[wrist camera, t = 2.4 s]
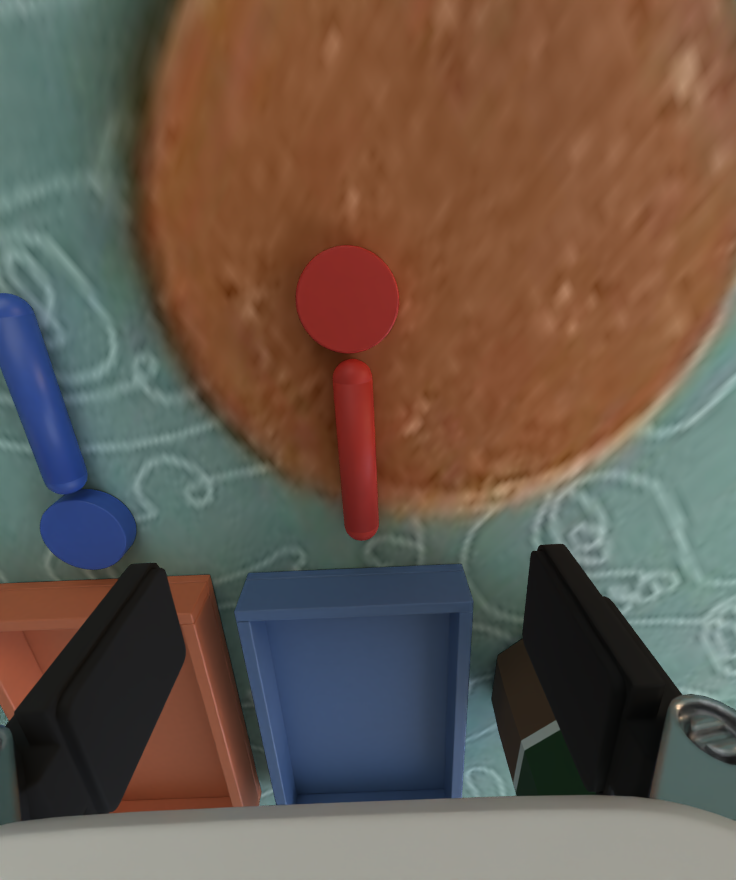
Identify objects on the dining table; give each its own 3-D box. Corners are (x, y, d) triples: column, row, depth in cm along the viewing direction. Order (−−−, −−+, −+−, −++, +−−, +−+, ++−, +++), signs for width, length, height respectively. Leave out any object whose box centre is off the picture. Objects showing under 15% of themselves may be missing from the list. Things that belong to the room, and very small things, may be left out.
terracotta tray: (-1, 582, 21) (-46, 623, 19) (210, 574, 21) (191, 613, 19) (101, 797, 28) (77, 847, 25) (261, 792, 28) (252, 840, 25)
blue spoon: (-33, 294, 16) (-71, 297, 14) (65, 288, 16) (37, 292, 14) (69, 557, 20) (47, 579, 19) (145, 554, 20) (129, 575, 19)
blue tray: (247, 572, 21) (233, 611, 19) (461, 563, 21) (473, 601, 18) (290, 790, 28) (283, 839, 25) (451, 784, 27) (459, 833, 25)
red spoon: (402, 525, 20) (404, 545, 18) (323, 529, 20) (319, 549, 19) (396, 243, 15) (399, 241, 14) (293, 248, 15) (286, 247, 14)
